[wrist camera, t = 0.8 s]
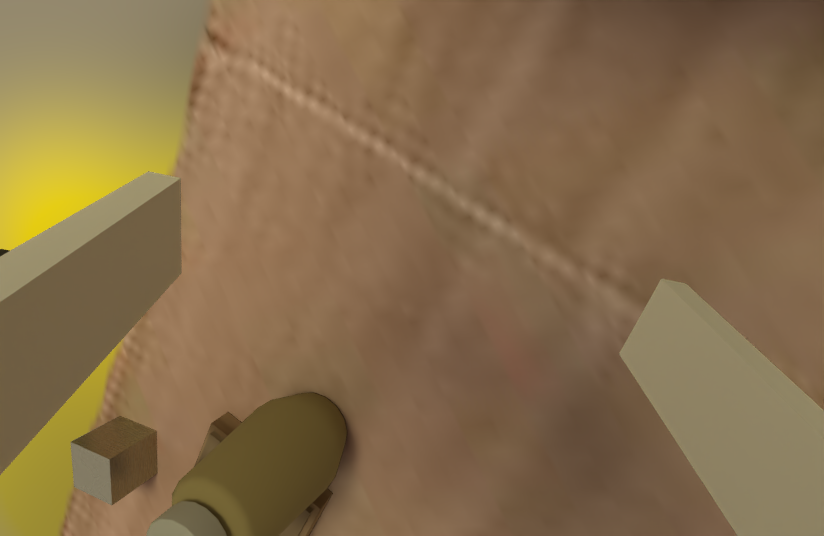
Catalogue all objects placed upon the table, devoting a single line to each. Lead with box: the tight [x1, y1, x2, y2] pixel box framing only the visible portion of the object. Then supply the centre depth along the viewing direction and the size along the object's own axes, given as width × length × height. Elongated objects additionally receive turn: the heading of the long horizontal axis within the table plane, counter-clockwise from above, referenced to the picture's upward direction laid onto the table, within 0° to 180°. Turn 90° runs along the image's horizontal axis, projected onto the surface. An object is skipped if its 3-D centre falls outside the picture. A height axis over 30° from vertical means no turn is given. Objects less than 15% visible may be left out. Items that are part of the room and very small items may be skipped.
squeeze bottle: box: [147, 393, 347, 536], centre depth 30 cm, size 8×8×18 cm
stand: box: [194, 412, 333, 536], centre depth 41 cm, size 12×12×2 cm
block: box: [71, 416, 157, 505], centre depth 45 cm, size 5×5×5 cm
